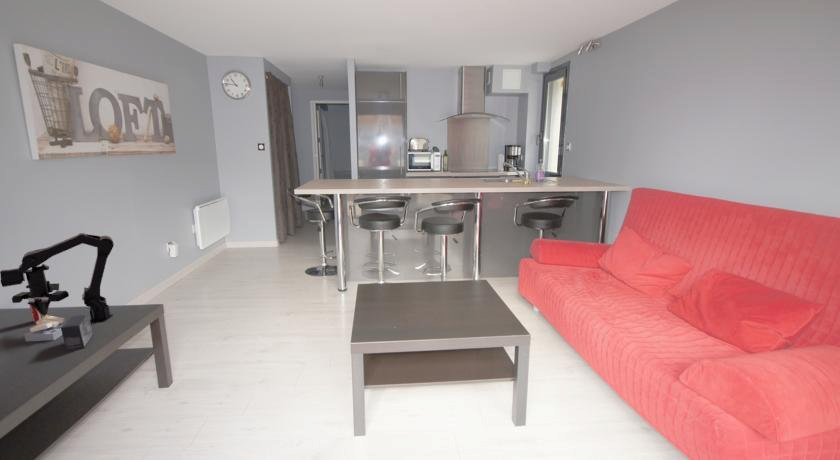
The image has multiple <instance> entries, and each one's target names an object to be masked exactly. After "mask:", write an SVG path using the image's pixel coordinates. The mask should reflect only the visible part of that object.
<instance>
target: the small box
mask: <svg viewBox="0 0 840 460" xmlns="http://www.w3.org/2000/svg"><path fill="white" fill-rule="evenodd" d="M90 320H91V317H90V313H89V314H81V315H80V314H79V315H73V316H70V317H69V318H68V319H67V320H66V321H65V322H66V323H65V324H64V325H63V326H62V327H61V331H62V335H61V336H62V338H63V343H64V347H65V351H67V350H68V351H74V350H79V349H84V348H86V347H87V345H89V343H90V341H92V339H93V338H94V336H95V335H94V331H93V327H92V324H91V322H90Z"/></svg>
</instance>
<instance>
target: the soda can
mask: <svg viewBox="0 0 840 460" xmlns="http://www.w3.org/2000/svg"><path fill="white" fill-rule="evenodd" d="M28 305H29V308H30V313H31V317H32V321H33V323H35V324H36V322H37V321H38V320H40V319H43V318H44V317H46V316H47V315H48V316H49V314H48V312H47V315H42V314H41V313H40V312H39V311H38V310H37V309H35V308H34V307H33V306H31V305H30V304H28Z"/></svg>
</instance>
